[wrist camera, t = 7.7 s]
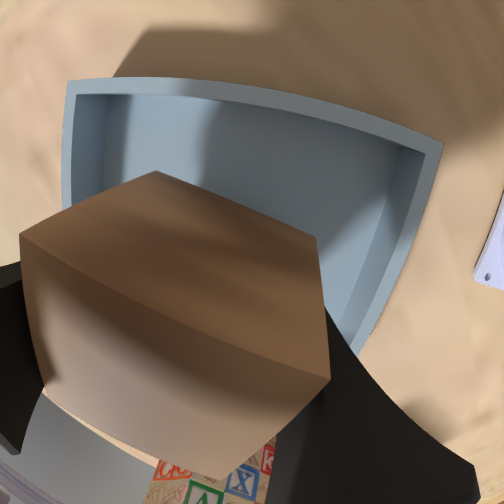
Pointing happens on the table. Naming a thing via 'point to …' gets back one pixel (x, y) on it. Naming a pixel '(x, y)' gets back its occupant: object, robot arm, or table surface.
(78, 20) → the table surface
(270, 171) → the tray
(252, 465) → the stack of blocks
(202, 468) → the walnut block
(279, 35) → the table surface
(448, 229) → the table surface
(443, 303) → the table surface
